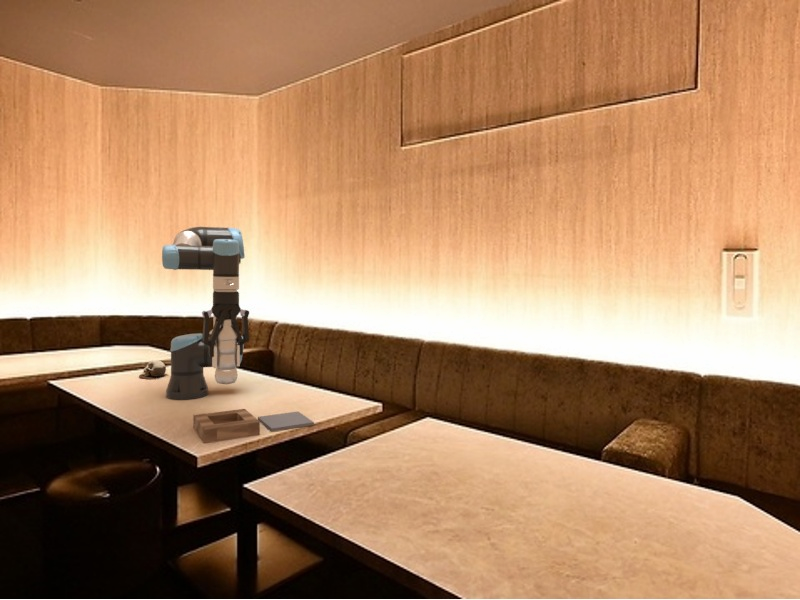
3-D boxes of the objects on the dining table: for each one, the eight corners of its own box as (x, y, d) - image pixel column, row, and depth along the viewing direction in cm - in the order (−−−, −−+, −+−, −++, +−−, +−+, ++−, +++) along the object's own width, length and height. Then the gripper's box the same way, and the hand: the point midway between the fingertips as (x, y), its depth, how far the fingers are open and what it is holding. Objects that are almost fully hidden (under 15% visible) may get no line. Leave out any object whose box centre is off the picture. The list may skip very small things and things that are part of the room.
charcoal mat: (257, 419, 175) (257, 416, 175) (298, 414, 183) (298, 411, 183) (271, 431, 164) (271, 428, 163) (313, 425, 171) (314, 422, 171)
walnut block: (193, 427, 166) (193, 415, 165) (244, 420, 174) (244, 408, 174) (204, 443, 152) (204, 429, 152) (259, 434, 161) (259, 421, 160)
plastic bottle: (230, 387, 158) (231, 320, 157) (210, 385, 160) (210, 319, 158) (241, 382, 165) (242, 318, 163) (221, 380, 166) (222, 317, 165)
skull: (130, 376, 230) (141, 356, 236) (144, 388, 238) (154, 368, 244) (154, 377, 227) (164, 357, 233) (167, 389, 235) (176, 369, 241)
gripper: (195, 291, 152) (195, 371, 154) (261, 291, 162) (260, 366, 164) (190, 290, 158) (190, 366, 160) (253, 289, 168) (253, 361, 170)
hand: (226, 366), depth 162 cm, fingers closed on plastic bottle, 6 cm apart
